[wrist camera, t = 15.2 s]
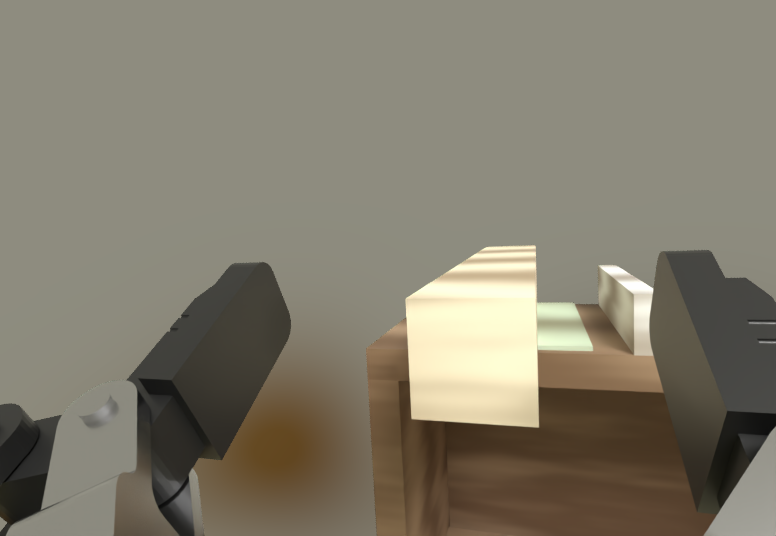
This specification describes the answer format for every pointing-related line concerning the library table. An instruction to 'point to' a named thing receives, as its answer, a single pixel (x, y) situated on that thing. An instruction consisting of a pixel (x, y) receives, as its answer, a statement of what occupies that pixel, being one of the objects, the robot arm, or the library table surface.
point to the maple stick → (477, 341)
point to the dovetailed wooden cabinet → (541, 437)
